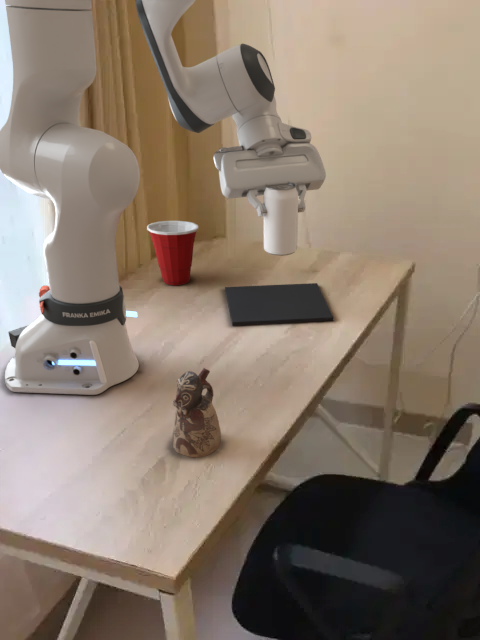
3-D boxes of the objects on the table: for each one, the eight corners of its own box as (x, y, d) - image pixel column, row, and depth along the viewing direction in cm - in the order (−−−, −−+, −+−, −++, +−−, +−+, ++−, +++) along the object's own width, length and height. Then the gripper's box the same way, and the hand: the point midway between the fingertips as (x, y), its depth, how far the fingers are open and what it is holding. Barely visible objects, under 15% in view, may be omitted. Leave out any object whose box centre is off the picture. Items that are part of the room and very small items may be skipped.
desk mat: (232, 326, 145) (232, 322, 145) (224, 290, 159) (224, 286, 159) (333, 321, 148) (333, 317, 147) (317, 286, 162) (317, 282, 161)
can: (302, 253, 143) (304, 188, 135) (270, 258, 141) (270, 191, 133) (289, 243, 147) (290, 179, 140) (258, 247, 145) (258, 182, 138)
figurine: (166, 438, 113) (159, 366, 106) (209, 426, 116) (205, 356, 108) (184, 462, 108) (178, 388, 101) (228, 449, 111) (226, 377, 103)
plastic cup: (205, 272, 167) (202, 217, 160) (196, 290, 159) (193, 233, 152) (158, 270, 168) (153, 215, 161) (146, 288, 160) (140, 231, 152)
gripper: (214, 138, 134) (233, 209, 133) (317, 130, 140) (337, 198, 139) (207, 159, 140) (226, 227, 139) (307, 150, 146) (326, 215, 145)
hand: (282, 212), depth 139 cm, fingers closed on can, 6 cm apart
